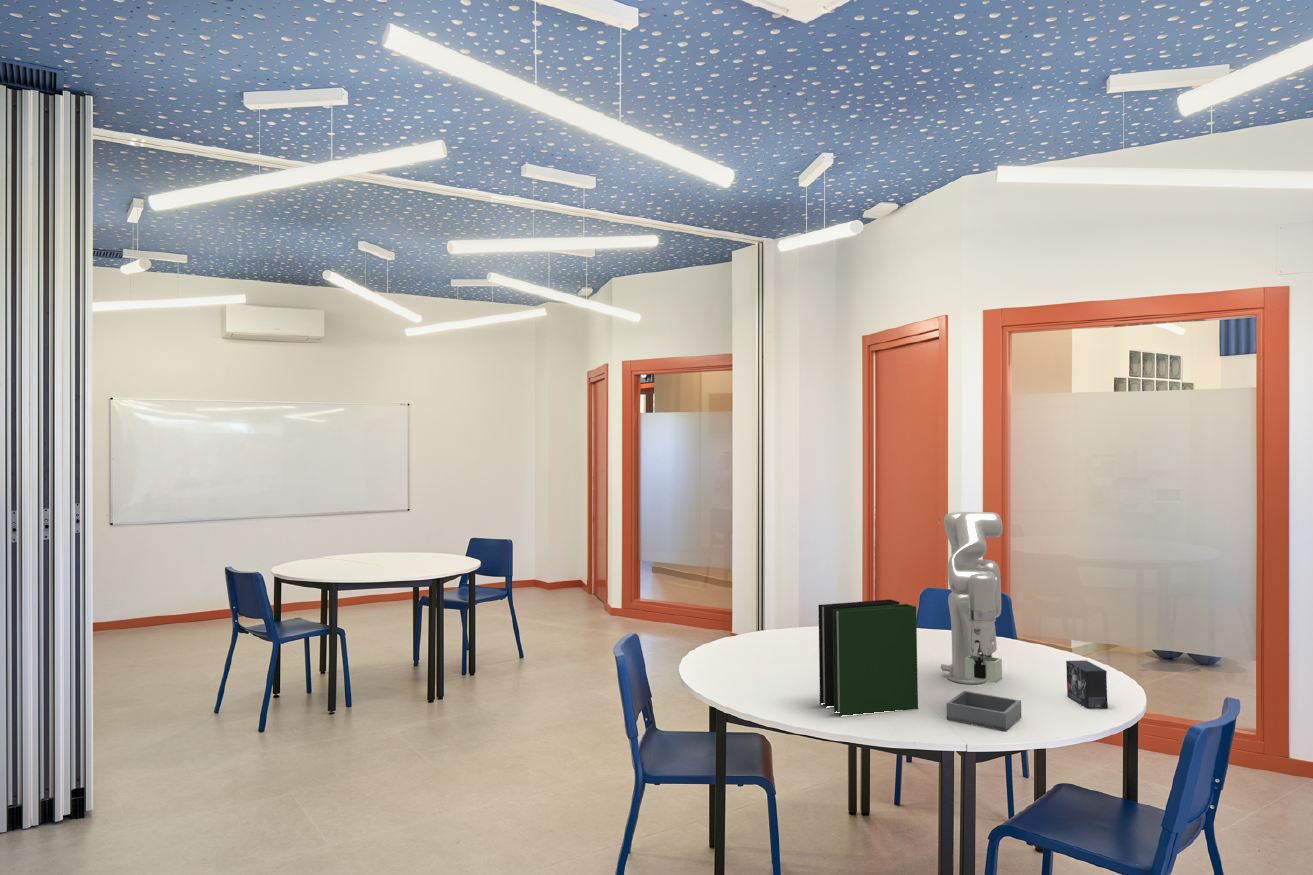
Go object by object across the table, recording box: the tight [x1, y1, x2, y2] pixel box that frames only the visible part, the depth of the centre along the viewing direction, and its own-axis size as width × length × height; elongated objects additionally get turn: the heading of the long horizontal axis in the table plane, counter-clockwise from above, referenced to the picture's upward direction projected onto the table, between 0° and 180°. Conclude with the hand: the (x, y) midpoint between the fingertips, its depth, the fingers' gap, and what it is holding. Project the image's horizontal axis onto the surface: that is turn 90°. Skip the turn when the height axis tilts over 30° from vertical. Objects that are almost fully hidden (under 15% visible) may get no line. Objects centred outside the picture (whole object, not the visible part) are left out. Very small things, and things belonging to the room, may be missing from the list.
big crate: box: [946, 690, 1022, 732], centre depth 242 cm, size 17×16×5 cm
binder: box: [818, 598, 919, 717], centre depth 255 cm, size 27×15×32 cm, turn 107°
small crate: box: [965, 654, 1003, 684], centre depth 242 cm, size 9×6×6 cm, turn 51°
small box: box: [1065, 659, 1109, 710], centre depth 257 cm, size 13×7×12 cm, turn 178°
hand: (983, 674), depth 242 cm, fingers closed on small crate, 6 cm apart
